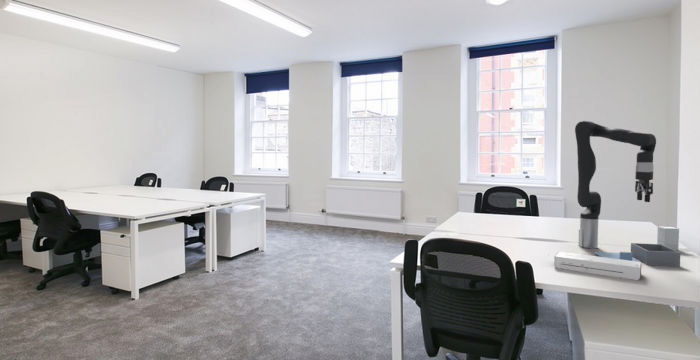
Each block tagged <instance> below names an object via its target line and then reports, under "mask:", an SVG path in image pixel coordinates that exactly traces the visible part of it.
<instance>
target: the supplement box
mask: <svg viewBox="0 0 700 360" xmlns="http://www.w3.org/2000/svg"><path fill="white" fill-rule="evenodd" d="M679 234H680V228H677V227H673V226H657V238H656V239H657V241H656V244H662V245H664V246H666V247H669V248H671V249H673V250H676V251H679V245H680V244H679V240H680V235H679Z"/></svg>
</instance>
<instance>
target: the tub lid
mask: <svg viewBox="0 0 700 360" xmlns="http://www.w3.org/2000/svg"><path fill="white" fill-rule="evenodd" d="M594 253H595V254H596V255H597V257H605V258H613V259H621V260H629V261H637V262H641V261H639V260H637V259H635V258H634V257H632V252H631V251H629V252H628V251H619V252H608V251H607V252H606V251H605V252H604V251H594Z"/></svg>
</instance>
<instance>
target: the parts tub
mask: <svg viewBox="0 0 700 360" xmlns="http://www.w3.org/2000/svg"><path fill="white" fill-rule="evenodd" d="M630 252H632V257H633V258H635V259H636V260H638V261H640V262H641V263H642V264H644V265H646V266H659V267H660V266H661V267H663V266H664V267H665V266H666V267H681V251H679V250H673V249H671V248H669V247H666V246H664V245H662V244H657V243H636V242H631V243H630Z"/></svg>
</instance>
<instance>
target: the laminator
mask: <svg viewBox="0 0 700 360" xmlns="http://www.w3.org/2000/svg"><path fill="white" fill-rule="evenodd" d="M555 267H557V268H556V269H560V268H563V269H562V270H567V269H569V271H574V270H575V271H576V272H581V273H587V274H595V275H602V276H606V277H607V276H608V277H615V278H620V277H621V278H620V279H628V280H629V279H630V280H636V281H640V280H641V278H642V262H641V261H640V262H637V261H629V260H621V259H613V258H605V257H600V256H598V255H597V256H596V255H589V254H588V255H587V254H579V253H574V252H573V253H571V252H565V251H564V252H563V251H558V252H557V253H556V254H555V255H554V268H555Z"/></svg>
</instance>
